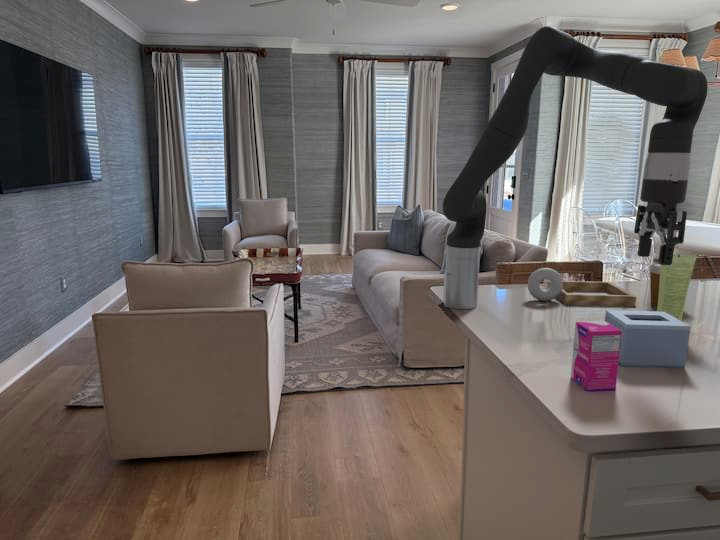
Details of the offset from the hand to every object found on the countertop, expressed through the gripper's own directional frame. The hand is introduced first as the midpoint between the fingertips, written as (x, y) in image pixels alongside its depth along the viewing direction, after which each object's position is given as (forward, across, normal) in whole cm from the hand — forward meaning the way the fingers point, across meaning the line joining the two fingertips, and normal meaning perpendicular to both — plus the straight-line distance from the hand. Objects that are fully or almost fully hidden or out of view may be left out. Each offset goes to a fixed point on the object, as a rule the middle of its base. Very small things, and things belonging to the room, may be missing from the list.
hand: (653, 260), depth 101 cm
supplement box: (+21, +14, -15) cm, 29 cm away
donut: (+21, -46, -7) cm, 51 cm away
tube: (+21, -17, +14) cm, 31 cm away
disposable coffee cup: (+21, -43, +26) cm, 55 cm away
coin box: (+21, 0, 0) cm, 21 cm away
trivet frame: (+21, -51, +8) cm, 56 cm away
